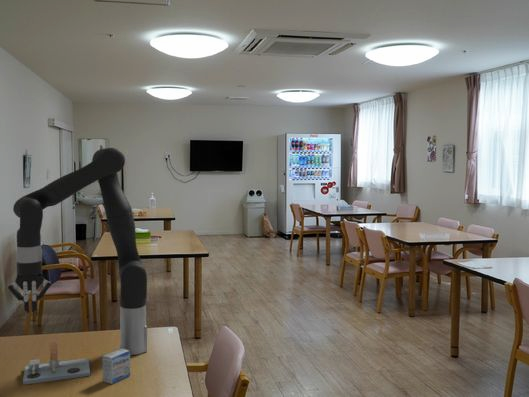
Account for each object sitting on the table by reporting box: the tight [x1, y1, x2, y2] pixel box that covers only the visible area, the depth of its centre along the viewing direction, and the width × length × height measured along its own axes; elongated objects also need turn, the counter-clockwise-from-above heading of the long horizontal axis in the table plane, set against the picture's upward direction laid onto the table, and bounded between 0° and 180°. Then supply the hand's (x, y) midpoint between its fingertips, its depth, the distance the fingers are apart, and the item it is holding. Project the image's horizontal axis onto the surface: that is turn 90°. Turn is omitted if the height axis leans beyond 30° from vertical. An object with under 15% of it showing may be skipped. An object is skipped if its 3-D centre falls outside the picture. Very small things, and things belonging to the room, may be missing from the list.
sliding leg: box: [48, 338, 60, 373], centre depth 169 cm, size 3×7×9 cm, turn 21°
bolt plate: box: [22, 358, 91, 386], centre depth 170 cm, size 20×12×2 cm, turn 111°
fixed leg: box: [28, 358, 41, 376], centre depth 167 cm, size 3×7×2 cm, turn 21°
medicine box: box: [101, 348, 131, 385], centre depth 166 cm, size 8×4×9 cm, turn 148°
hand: (30, 311), depth 167 cm, fingers closed
